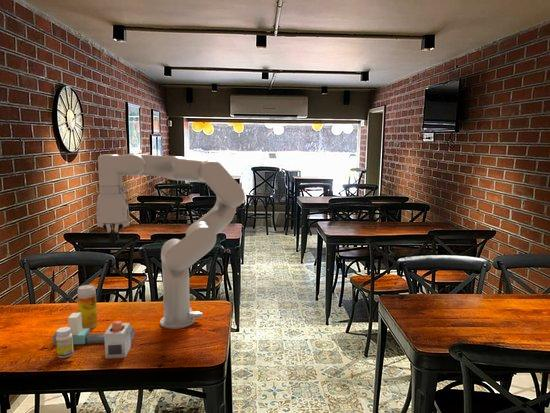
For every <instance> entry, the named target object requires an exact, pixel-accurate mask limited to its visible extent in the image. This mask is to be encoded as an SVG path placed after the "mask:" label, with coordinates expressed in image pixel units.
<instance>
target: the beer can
mask: <svg viewBox="0 0 550 413" xmlns="http://www.w3.org/2000/svg"><path fill="white" fill-rule="evenodd" d="M76 292H77V293H76V294H77V305H78V306H77V308H78V309H77V310H78V313H81V316H82V329H84V328H89V330H90V329H94V328H95V327H96V326H97V325H98V309H97V307H98V306H97V305H98V304H97V293H96V287H95V285H94V284H83V285H80V286H78V288H77V291H76Z"/></svg>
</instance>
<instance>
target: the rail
mask: <svg viewBox="0 0 550 413" xmlns="http://www.w3.org/2000/svg"><path fill="white" fill-rule="evenodd" d="M104 334H105V332H103V333H89V334H87V336H86V337H85V344H100V343H101V344H105V341H104ZM130 334H131V343H132V342H133V340H134V338H135V326H133V325H131V326H130ZM56 336H57V331H56V332H55V333H54V334H53V335H52V343H53V347H57V346H56ZM85 344H84V345H85Z"/></svg>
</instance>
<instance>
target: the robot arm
mask: <svg viewBox="0 0 550 413" xmlns="http://www.w3.org/2000/svg"><path fill="white" fill-rule="evenodd" d="M97 167H98V170H97V171H98V182H99V183H98V184H99V186H98V187H99V194H98V195H97V200H96V227H98V228H99V227H100V228H103V229H104V230H105V231H107V232H106V233H108V241H109V242H110V245H112V244H114V245H116V244H118V242H119V241H120V232H119V231H120V230H121V229H122V228H124V227H129V226H130V224H131V223H130V210H129V202H128V197H127V194H126V193H124V192H127V191H128V186H124V183H123V182H124V180H123V175H125V176H131V177H133V176H134V177H135V176H139V175H142V176H152V177H160V178H164V179H167V180H172V181H183V182H195V183H205V184H206V185H207V186H208V187H209V188H210V190H211V191H213V193H214V194H215V196H216V199H215V200H216V201H215V204H214V206H213V207H212V208H211V209H210V210H209V211H207V213H205V214H204V215H203V216H201V217H200V218H199V219H197V220H195V222H193V223H191V225H189V226H188V228H187V229H186V232H185V236H184V237H183V238H181V239H179V238H171V239H169V240H166V241H165V242H164V243H163V245H162V247H161V249H160V251H161V252H160V258H161V270H162V294H163V295H162V296H163V298H162V299H163V317H161V319H160V321H159V324H160V326H161V327H163V328H164V329H168V330H169V329H171V330H178V329H184V328H187V327H190V326H191V325H193V324H194V323H195V320H196V319H202V318H203V312H200V311H198V310H196V311H194V310H192V307H191V305H190V304H191V303H190V301H191V300H190V299H191V298H190V270H189V269H190V267H191V266H193V265H194V264H196V263H197V261H200V259H202V258H203V257H204V256H206V255H207V254H209V252H210V251H211V250H212V249H214V247H215V245H216V243H217V235H218V234H219V233H221V231H223V230H224V229H225V228H226V227H227V226H228V225H229V224H231V222H232V221H233V219H234V216H235V214H236V213H237V208H238V207H240V206H241V205H242V204H243V203H244V201H245V197H246V196H245V192H244V188H242V186H241V185H240V184H239V183H238V181H237V180H235V178H234V177H233V176H232V175H231V174H230V173H229V171H228V170H226V168H225V167H224V166H223V165H222V164H221V163H220V162H219V161H217V160H215V159H214V160H213V159H209V158H208V159H207V158H196V157H189V156H188V157H185V156H178V155H177V156H176V155H156V154H155V155H152V154H142V153H135V152H133V153H127V154H122V155H121V154H117V153H116V154H115V153H114V154H113V153H110V154H107V153H106V154H105V153H104V154H100V155H98V158H97ZM113 224H114V229H113Z"/></svg>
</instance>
